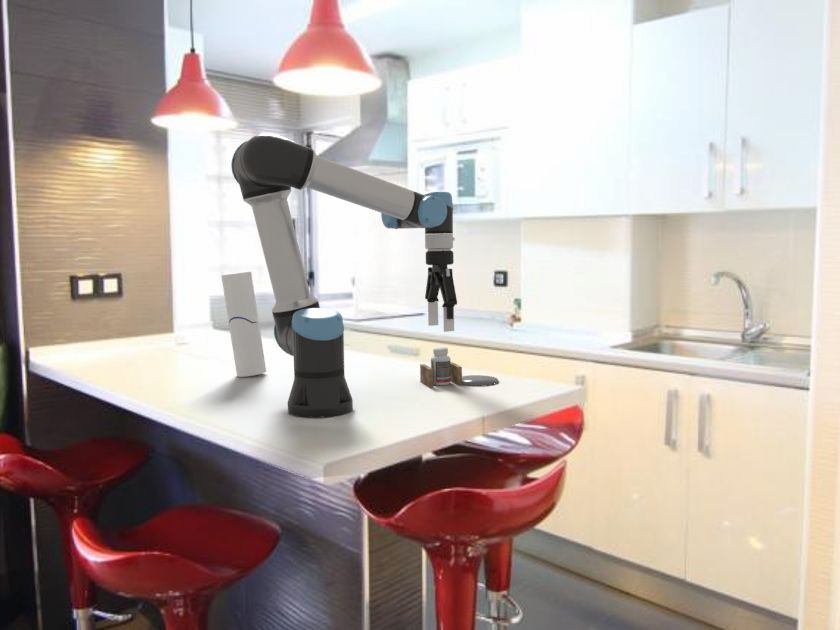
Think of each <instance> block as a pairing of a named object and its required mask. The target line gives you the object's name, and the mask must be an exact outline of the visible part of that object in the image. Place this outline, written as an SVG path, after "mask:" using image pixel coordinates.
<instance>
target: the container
mask: <svg viewBox="0 0 840 630" xmlns="http://www.w3.org/2000/svg"><path fill="white" fill-rule="evenodd" d="M253 280H254V279H253V274H252V271H246V272H238V273H231V274H223V275H222V274H221V282H222V288H223V293H224V300H225V301H224V302H225V307H226V314H227V320H228V327H229V333H230V340H231V346H232V353H233V358H234V359H233V360H234V365H235V371H236V377H238V378H245V377H253V376H257V375H261V374H264V373H267V367H266V360H265V354H264V348H263V347H264V346H263V340H262V334H261V327H260V322H259V321H260V319H259V313H258V308H257V300H256V295H255V287H254V281H253Z"/></svg>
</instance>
